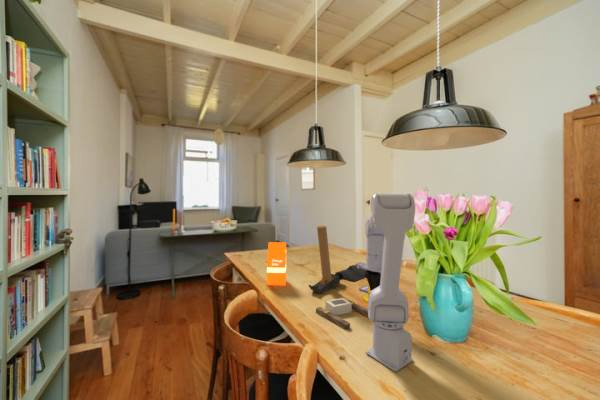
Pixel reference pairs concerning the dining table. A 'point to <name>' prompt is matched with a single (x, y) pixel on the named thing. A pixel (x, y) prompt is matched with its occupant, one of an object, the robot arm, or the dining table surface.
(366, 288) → the smartphone
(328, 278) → the hammer
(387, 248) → the robot arm
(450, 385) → the dining table surface
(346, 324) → the guide rails
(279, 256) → the orange juice
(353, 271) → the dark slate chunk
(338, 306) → the block
